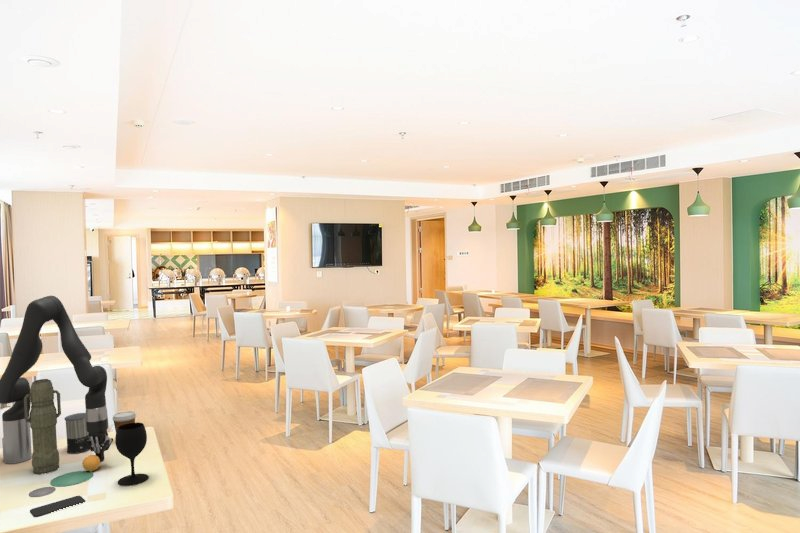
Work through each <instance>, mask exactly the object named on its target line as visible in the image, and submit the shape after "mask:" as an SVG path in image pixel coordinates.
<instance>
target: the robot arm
mask: <svg viewBox="0 0 800 533" xmlns="http://www.w3.org/2000/svg"><path fill="white" fill-rule="evenodd" d="M24 312H25V314H24V318H23V321H22V325H21V329H20V331H19V334H18V337H17V340H16V342H15V345H14V347H13V349H12V353H11V355H10V358H9V360H8V362H7V366H6V368H5V370H4V372H3V374H2V375H1V377H0V404H1V405H7V404H12V403H14V404H13V405H12V406H11V407H9V409H8V408H7V409H6V410H5V411H4V412H3V413H2V415H1V420H2V434H3V435H2V436H3V437H2V438H1V441H2V458H3V460H2V461H3V462H4V463H5V464H9V465H10V464H18V463H22V462H26V461H28V460H31V459H32V454H33V451H32V432H31V427H30V423H29V422H26V420H25V410H24V397H25V396H26V395H27V394H29V393H30V388H31V385H30V382H29V380H28V379H27V378H25V377H22V376H24V374H26V373H27V372H28V371H29V370H31V369H32V367H33V366H35V365H36V364H37V362H38V360H39V358H40V355H41V353H42V350H43V341H42V339H41V337H40V333H41V330H42V328H43V326H44V325H45V323H47V322H50V321H53V322H54V323H55V324H56V326H57V328H58V329H59V333H60V343H61V344H60V345H61V349H62V351H63V353H64V354H65V355H64V356H66V358H67V359H68V361H69V362H70V363H71V365H72V366H73V369H74V372H75V375H76V377H77V380H78V381H79V382H80V383H81V384H82V385H83V387H86V388H88V391H87V393H86V394H85V396H84V403H85V413H86V427H87V432H89V434H88V437H87V438H85V439H84V441H85V442H86V444H87V446H88V447H89V450H90V452H93V453H94V455H96V456H98V457H99V459H100V464H101V463H102V462H104V461H105V451H108V450H109V448H111V445H112V443H113V441H114V438H113V437H109V433H108V429H109V417H108V416H109V414H108V408H107V401H106V391H107V390H106V389H107V383H108V373H107V370H106V369H105V368H104V367H103V366H101V365H92V364H91V359H92V355H91V353H90V352H89V350H88V349H87V347H86V345H84V342H82V340H81V339H80V337H79V336H78V333H77V331H76V329H75V327H74V325H73V323H72V321H71V319H70V316H69V314H68V312H67V310H66V308H65V306H64V305H63V302H62V301H61V300H60V299H59V298H58V297H56V296H55V295H46V296H44V297H41V298H37V299H35V300H32V301H31V302H30V303H28V304H27V307H26V309H25V311H24ZM27 410H28V419H29V418H30V411H31V397H28V398H27Z"/></svg>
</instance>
